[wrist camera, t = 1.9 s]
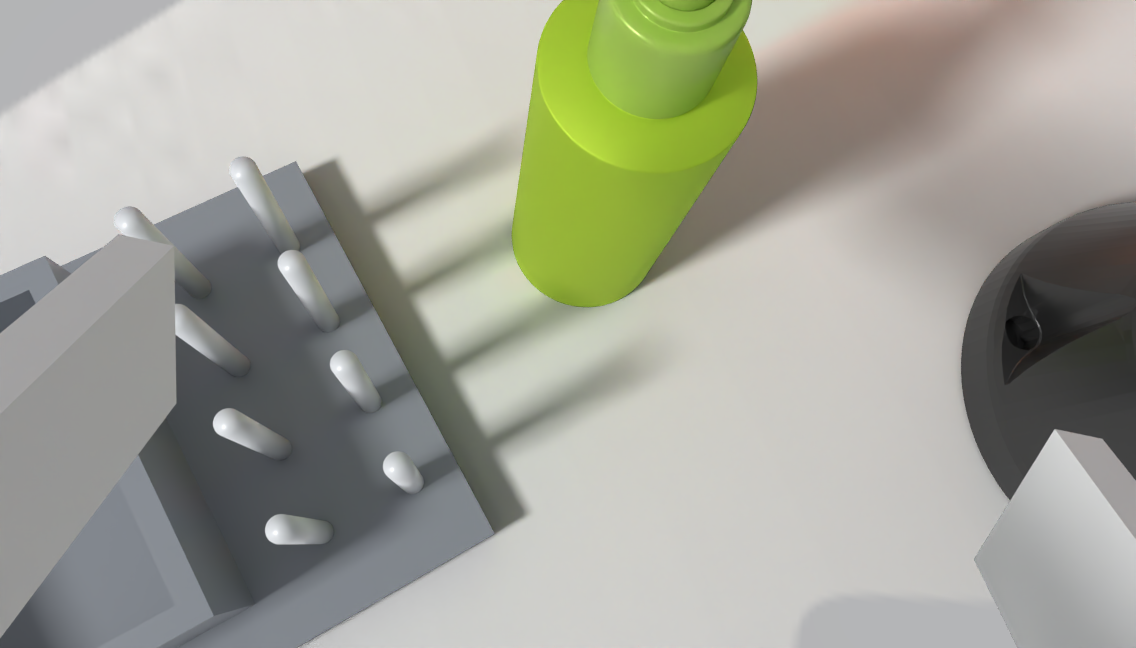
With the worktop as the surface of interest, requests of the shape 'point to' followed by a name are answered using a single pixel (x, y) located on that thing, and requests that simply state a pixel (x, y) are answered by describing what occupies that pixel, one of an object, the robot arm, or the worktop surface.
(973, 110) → the worktop surface
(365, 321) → the dish rack
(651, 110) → the soap dispenser
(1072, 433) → the robot arm
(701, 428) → the worktop surface
